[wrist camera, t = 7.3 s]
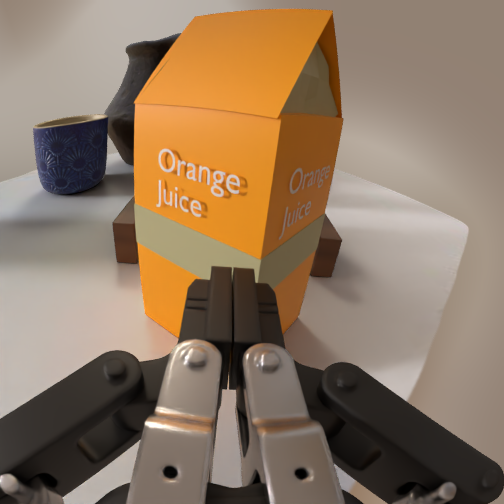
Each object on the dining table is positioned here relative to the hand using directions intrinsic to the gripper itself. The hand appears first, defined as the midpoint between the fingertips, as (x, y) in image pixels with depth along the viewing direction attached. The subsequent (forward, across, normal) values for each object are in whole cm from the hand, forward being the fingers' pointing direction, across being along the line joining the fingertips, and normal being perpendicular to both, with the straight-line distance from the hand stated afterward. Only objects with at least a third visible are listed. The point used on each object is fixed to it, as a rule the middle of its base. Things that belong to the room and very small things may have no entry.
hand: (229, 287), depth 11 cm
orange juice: (+8, 0, +9) cm, 12 cm away
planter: (+34, +25, +9) cm, 43 cm away
